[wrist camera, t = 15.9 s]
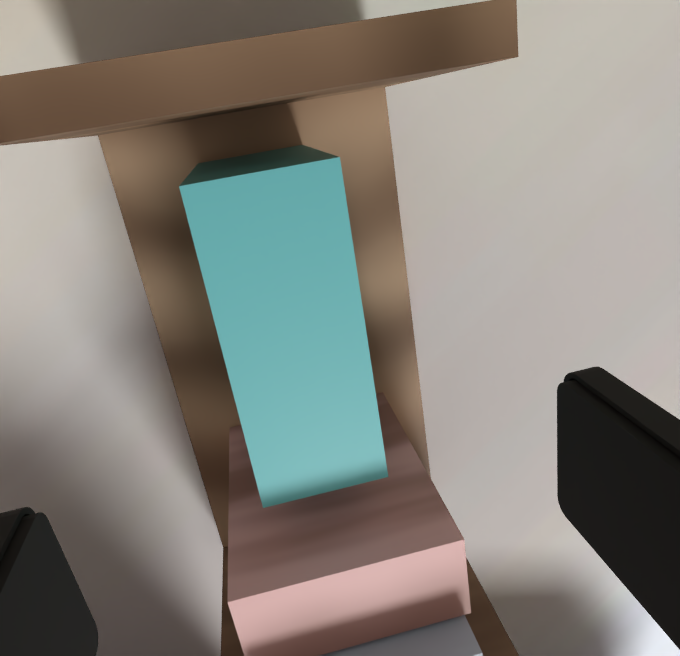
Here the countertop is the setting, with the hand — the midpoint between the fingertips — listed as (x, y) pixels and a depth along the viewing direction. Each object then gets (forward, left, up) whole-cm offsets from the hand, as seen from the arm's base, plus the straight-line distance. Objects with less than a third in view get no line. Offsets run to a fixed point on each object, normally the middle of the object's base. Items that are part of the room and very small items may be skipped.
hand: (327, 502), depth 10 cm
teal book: (0, 0, -17) cm, 17 cm away
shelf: (+4, 0, -18) cm, 19 cm away
